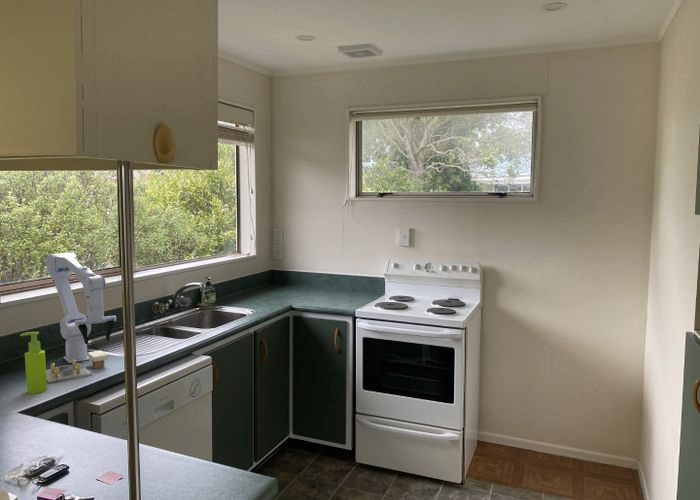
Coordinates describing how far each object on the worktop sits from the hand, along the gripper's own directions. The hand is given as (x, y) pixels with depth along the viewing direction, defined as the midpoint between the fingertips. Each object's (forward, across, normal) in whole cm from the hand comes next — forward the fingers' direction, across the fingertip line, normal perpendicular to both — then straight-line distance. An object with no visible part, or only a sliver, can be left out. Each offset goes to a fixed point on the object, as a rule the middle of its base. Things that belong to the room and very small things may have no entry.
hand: (97, 341), depth 209 cm
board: (+6, 0, 0) cm, 6 cm away
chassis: (+10, -12, -3) cm, 16 cm away
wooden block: (+10, 0, 0) cm, 10 cm away
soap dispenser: (+10, -24, -16) cm, 30 cm away
